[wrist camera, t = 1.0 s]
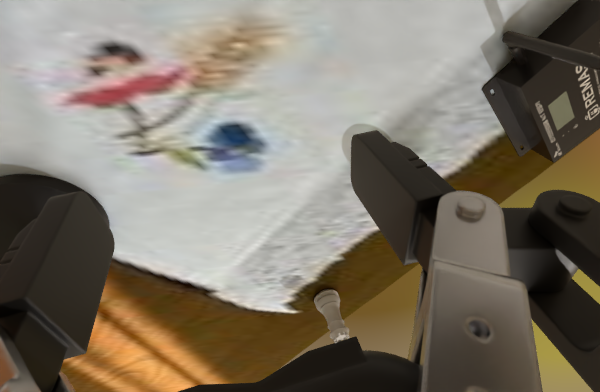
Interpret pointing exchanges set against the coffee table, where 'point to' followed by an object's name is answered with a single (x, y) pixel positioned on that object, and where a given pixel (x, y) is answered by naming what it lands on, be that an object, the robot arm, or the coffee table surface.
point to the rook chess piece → (332, 313)
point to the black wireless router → (551, 84)
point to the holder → (29, 202)
